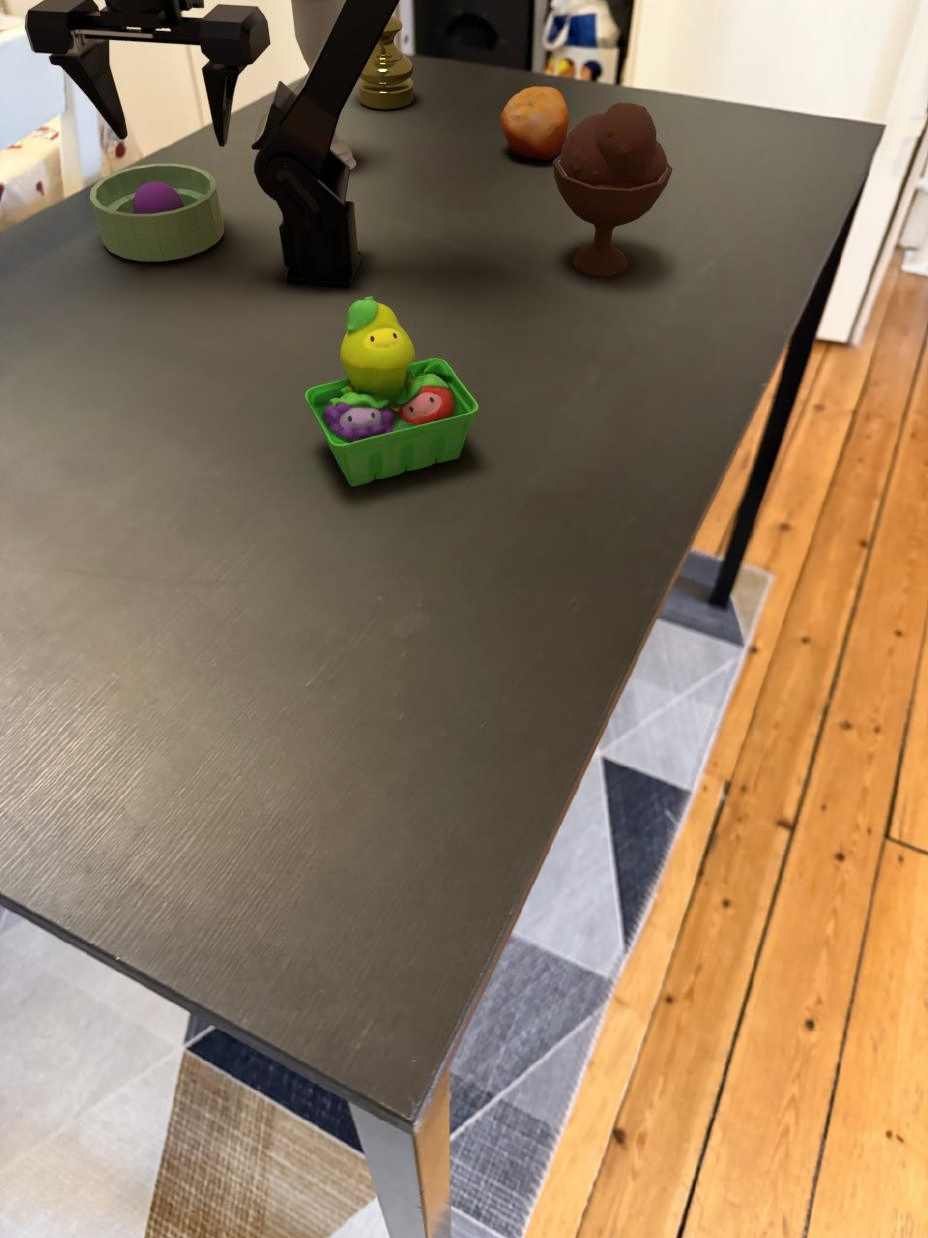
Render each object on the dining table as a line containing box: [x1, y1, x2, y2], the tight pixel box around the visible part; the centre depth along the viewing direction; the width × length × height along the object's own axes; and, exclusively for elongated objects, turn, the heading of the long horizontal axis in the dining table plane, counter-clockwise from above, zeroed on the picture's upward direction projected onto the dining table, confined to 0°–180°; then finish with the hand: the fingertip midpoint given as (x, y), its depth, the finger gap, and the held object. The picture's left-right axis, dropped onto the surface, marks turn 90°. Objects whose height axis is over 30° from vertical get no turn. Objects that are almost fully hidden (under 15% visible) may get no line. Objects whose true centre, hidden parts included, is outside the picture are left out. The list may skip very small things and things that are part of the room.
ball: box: [133, 182, 184, 214], centre depth 90 cm, size 5×5×5 cm
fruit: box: [499, 85, 570, 161], centre depth 106 cm, size 8×8×8 cm
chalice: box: [290, 0, 357, 171], centre depth 98 cm, size 7×7×18 cm
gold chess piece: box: [356, 15, 414, 111], centre depth 115 cm, size 7×7×10 cm
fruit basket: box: [304, 295, 479, 487], centre depth 65 cm, size 11×9×11 cm
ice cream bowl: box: [552, 102, 674, 277], centre depth 84 cm, size 11×11×15 cm
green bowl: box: [89, 163, 225, 262], centre depth 90 cm, size 12×12×5 cm
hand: (173, 141), depth 79 cm, fingers open, 9 cm apart
